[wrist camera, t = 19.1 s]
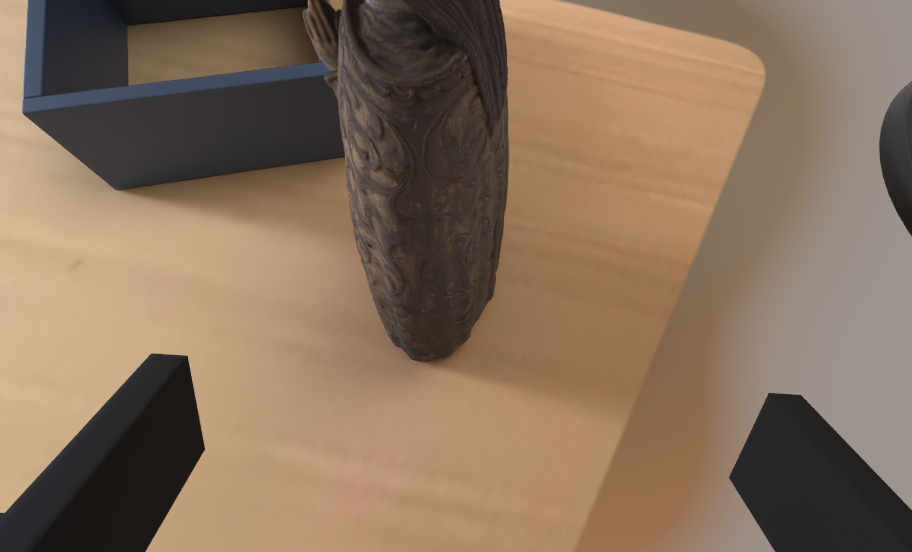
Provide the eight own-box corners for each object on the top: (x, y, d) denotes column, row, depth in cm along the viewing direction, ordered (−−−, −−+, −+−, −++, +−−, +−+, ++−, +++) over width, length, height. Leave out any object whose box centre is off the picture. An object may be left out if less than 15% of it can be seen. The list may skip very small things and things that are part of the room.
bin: (356, 155, 30) (338, 73, 23) (115, 190, 28) (20, 113, 21) (328, -6, 33) (305, -116, 27) (113, 17, 32) (32, -96, 25)
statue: (348, 233, 28) (-47, -890, 4) (471, 192, 29) (681, -836, 6) (400, 377, 26) (168, -346, 2) (531, 325, 27) (1308, -470, 3)
